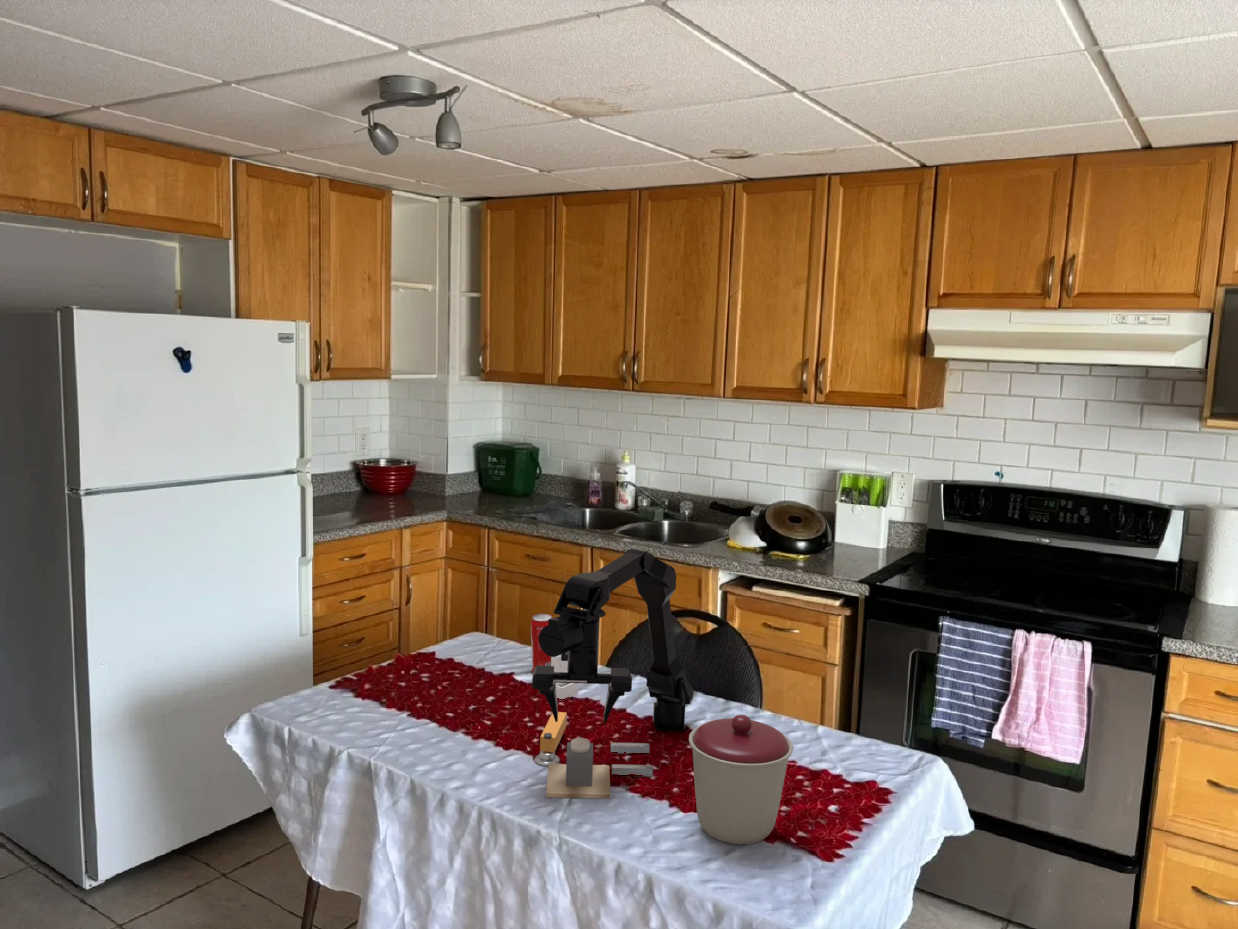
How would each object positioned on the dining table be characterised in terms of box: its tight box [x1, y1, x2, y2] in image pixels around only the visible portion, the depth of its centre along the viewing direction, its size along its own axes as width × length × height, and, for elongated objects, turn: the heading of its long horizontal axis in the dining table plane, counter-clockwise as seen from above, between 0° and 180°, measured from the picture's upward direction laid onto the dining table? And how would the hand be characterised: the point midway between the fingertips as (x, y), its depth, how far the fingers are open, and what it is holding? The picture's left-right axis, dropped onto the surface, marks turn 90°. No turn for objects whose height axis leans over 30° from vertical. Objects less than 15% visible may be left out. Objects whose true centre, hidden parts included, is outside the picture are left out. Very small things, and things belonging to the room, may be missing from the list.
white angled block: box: [551, 657, 579, 700], centre depth 223 cm, size 4×10×9 cm, turn 143°
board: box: [545, 763, 611, 800], centre depth 181 cm, size 12×12×1 cm
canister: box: [688, 714, 794, 845], centre depth 165 cm, size 18×18×21 cm
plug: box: [565, 737, 594, 787], centre depth 180 cm, size 5×6×8 cm
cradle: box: [534, 742, 654, 777], centre depth 190 cm, size 24×12×2 cm, turn 92°
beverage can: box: [530, 613, 553, 673], centre depth 237 cm, size 6×6×15 cm
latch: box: [539, 711, 568, 753], centre depth 195 cm, size 14×3×4 cm, turn 173°
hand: (580, 721), depth 179 cm, fingers open, 9 cm apart
